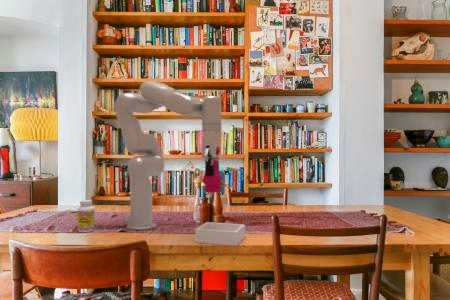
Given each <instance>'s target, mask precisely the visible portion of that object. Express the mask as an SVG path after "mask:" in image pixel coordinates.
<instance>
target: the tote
mask: <svg viewBox="0 0 450 300" xmlns="http://www.w3.org/2000/svg"><path fill="white" fill-rule="evenodd" d="M194 233H195V234H194V236H195V240H194V242H195V244H197V243H198V244H207V245H208V244H209V245H220V246H221V245H222V246H233V247H237V246H238V245H239V244H240V243H241V242H242V241H243V240H244V239H245V238H246V224H241V223H226V222H212V221H210V222H209V221H206V222H205V223H203V224H202V225H200V226H198V227H197V228H195V232H194Z"/></svg>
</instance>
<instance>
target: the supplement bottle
mask: <svg viewBox="0 0 450 300" xmlns="http://www.w3.org/2000/svg"><path fill="white" fill-rule="evenodd" d="M79 204H80V206H78V208H77V232H79V233H91V232H93V231H95V207H94V206H93V205H92V204H93V200H92V199H83V200H80V201H79Z"/></svg>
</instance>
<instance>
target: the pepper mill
mask: <svg viewBox="0 0 450 300" xmlns="http://www.w3.org/2000/svg"><path fill="white" fill-rule="evenodd" d="M219 153H220V149H219V147H217V149H216V155H217V156H218V154H219ZM208 157H212V156H208ZM218 160H219V161H220V158H219V159H218V157H215V158H213V165H214V176H206V175H205V173H204V174H203V178H202V183H203V184H204V185H205V186H204V192H205V193H220V192H221V183H222V181H223V180H222V175H221V173H220V169H219V170H218V167H217V161H218ZM210 161H211V159H210Z"/></svg>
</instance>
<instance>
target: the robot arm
mask: <svg viewBox="0 0 450 300" xmlns="http://www.w3.org/2000/svg"><path fill="white" fill-rule="evenodd" d="M160 107H164V108H166V109H167V110H169V111H171V112H174V113H176V114H179V115H182V116H186V117H195V118H196V117H197V118H201V132H202V137H201V154H200V155H201V157H202V159H204V167H205V171H204V174H205V175H206V176H214V165H213V158H215V157H218V159H219V160H218V161H217V167H218V170H219V171H220V156H221V150H222V148H221V145H222V144H221V133H222V99H221V97H219V96H216V95H208V96H204V97H202V98H201V97H194V96H189V95H185V94H182V93H179V92H177V91H176V89H175V88H174V87H172V86H169V85H167V84H166V83H163V82H158V81H154V80H147V81H144V82H142V83H141V85H140V86H139V93H135V92H134V93H133V92H124V93H121V94H119V95H118V96H117V98H116V100H115V102H114V113H115V116H116V119H117V121H118V123H119V126H120V130H121V134H122V139H123V142H124V145H125V148H126V150H127V152H128V153H129V154H131V155H136V156H134V157H131V159H130V160H129V161H128V163H127V172H128V176H129V186H130V187H129V193H130V196H129V199H130V204H129V205H130V206H129V207H130V209H129V211H130V216H124V217H123V219H122V220H123V222H126V223H127V222H128V223H127V224H126V229H127V230H132V231H133V230H134V231H143V230H151V229H154V228H156V226H157V223H156V222H153V183H152V181H151V178H150V177H156V176H159V175H162V174H163V172H164V170H165V160H164V157H163V153H162V149H161V147H160V142H159V140H158V138H157V137H156V136H155V135H154V134H151V133H149V132H148V133H145V132H143V130H142V128H141V124H140V121H139V120H138V118H137V116H135V115H134V113H137V114H150V113H152V112H154V111H155V110H156V109H158V108H160ZM217 147H219V149H220V153H219V154H218V156H217V155H216V149H217ZM208 156H212V157H208ZM210 159H211V161H210Z"/></svg>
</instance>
